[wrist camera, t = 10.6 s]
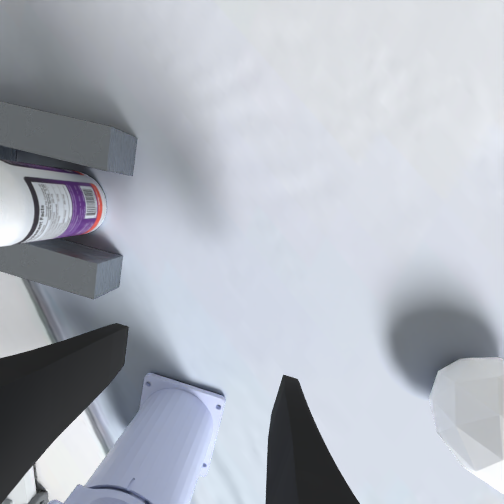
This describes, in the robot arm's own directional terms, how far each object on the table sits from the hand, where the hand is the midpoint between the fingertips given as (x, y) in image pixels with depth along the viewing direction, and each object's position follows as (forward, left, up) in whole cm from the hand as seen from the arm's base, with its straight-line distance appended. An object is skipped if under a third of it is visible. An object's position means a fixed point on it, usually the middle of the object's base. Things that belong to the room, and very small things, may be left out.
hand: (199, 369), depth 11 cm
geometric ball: (-2, -19, -11) cm, 22 cm away
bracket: (+4, +18, -10) cm, 21 cm away
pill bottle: (+4, +16, -11) cm, 19 cm away
